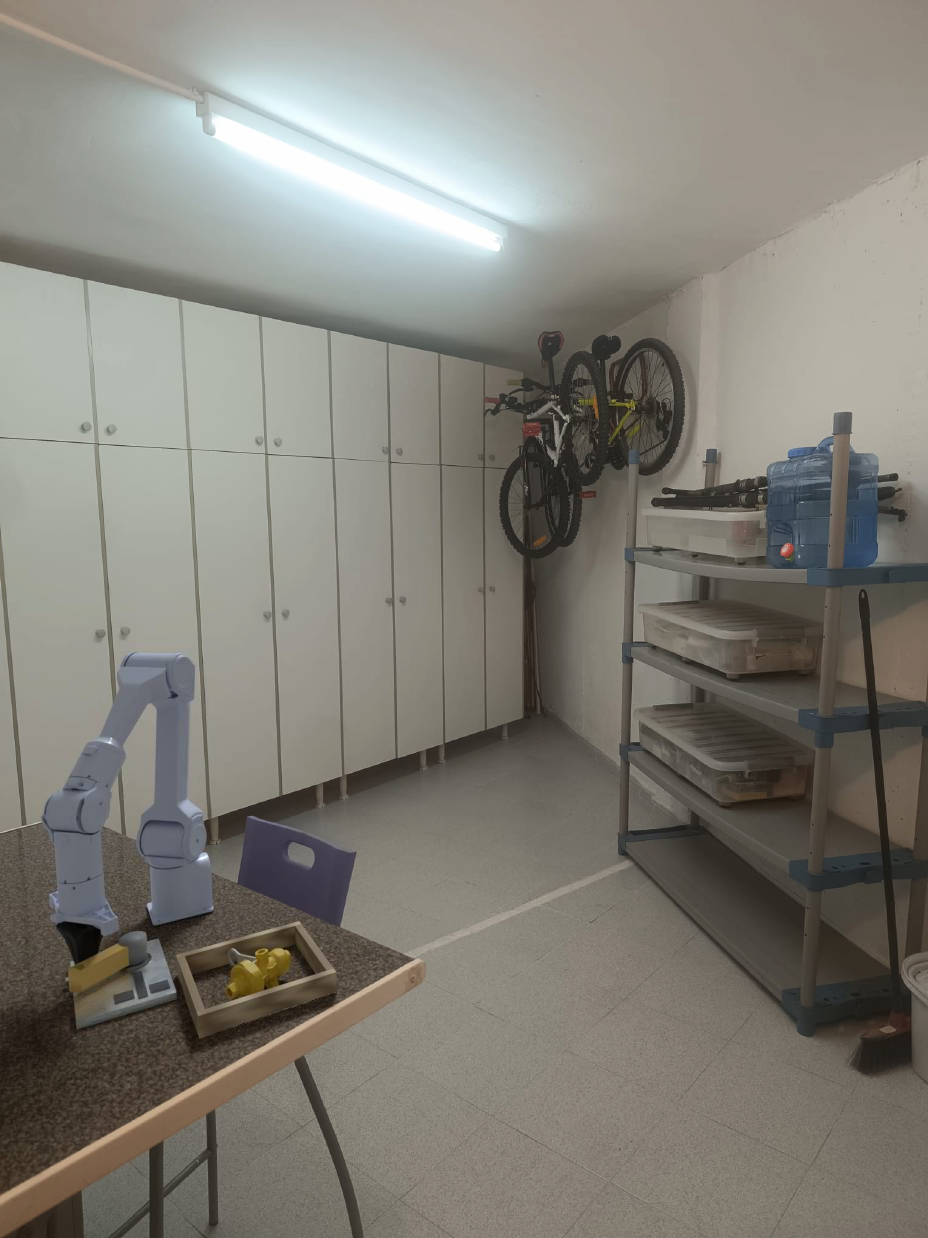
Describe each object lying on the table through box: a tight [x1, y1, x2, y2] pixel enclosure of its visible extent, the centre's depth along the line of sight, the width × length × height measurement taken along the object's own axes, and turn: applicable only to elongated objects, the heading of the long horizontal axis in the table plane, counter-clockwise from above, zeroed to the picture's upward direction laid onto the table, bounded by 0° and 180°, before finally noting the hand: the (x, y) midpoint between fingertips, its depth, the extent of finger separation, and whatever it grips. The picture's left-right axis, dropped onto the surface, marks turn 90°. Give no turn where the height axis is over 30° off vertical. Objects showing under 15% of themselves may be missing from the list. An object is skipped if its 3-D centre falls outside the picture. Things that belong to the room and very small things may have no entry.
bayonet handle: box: [67, 930, 148, 994], centre depth 103 cm, size 11×4×3 cm, turn 149°
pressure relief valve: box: [224, 948, 292, 1000], centre depth 102 cm, size 6×12×10 cm
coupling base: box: [64, 938, 178, 1030], centre depth 102 cm, size 13×16×1 cm
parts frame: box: [175, 921, 338, 1040], centre depth 102 cm, size 18×16×3 cm
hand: (86, 968), depth 102 cm, fingers closed
